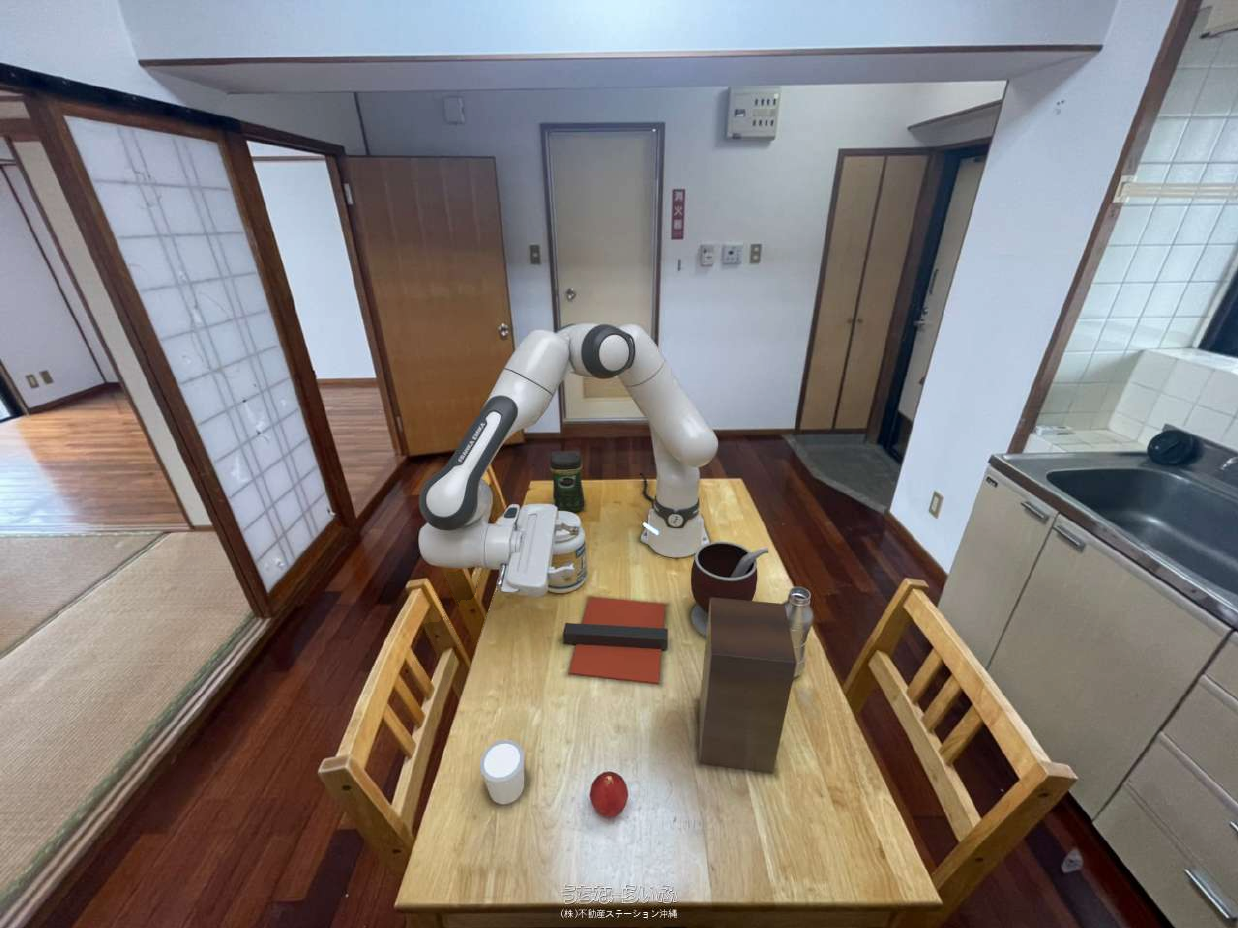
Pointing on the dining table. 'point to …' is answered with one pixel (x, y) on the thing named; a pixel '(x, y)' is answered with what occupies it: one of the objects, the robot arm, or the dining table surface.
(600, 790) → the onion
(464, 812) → the dining table surface
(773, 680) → the tall wooden block
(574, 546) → the supplement tub
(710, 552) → the mate gourd
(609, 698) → the dining table surface
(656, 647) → the handle
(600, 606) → the baking mat
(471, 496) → the robot arm
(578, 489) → the coffee jar
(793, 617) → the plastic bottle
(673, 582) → the dining table surface
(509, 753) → the white short cylinder
